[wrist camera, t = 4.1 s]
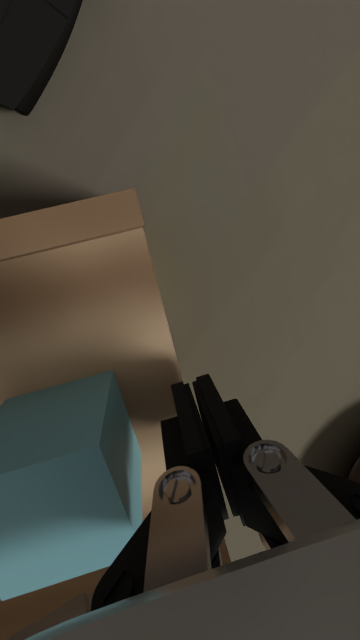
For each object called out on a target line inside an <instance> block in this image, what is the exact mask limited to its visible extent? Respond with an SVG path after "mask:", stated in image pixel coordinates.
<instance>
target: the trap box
mask: <svg viewBox="0 0 360 640" xmlns="http://www.w3.org/2000/svg"><path fill="white" fill-rule="evenodd" d="M143 227H144V221H143V217H142V213H141V209H140V205H139V201H138V197H137V194H136V190H135V188H132V189H127V190H123V191H119V192H114V193H110V194H106V195H101V196H97V197H93V198H88V199H84V200H80V201H75V202H71V203H67V204H62V205H58V206H54V207H49V208H45V209H41V210H36V211H32V212H28V213H23V214H19V215H15V216H10V217H6V218H2V219H0V406H1V405H2V404H3V402H4V401H5V400H6V399H10V398H13V397H17V396H20V395H24V394H28V393H31V392H35V391H38V390H42V389H46V388H49V387H53V386H57V385H60V384H64V383H67V382H71V381H75V380H78V379H82V378H86V377H89V376H93V375H96V374H100V373H104V372H107V371H111V370H113V372H114V375H115V378H116V381H117V384H118V387H119V389H120V392H121V395H122V398H123V401H124V404H125V407H126V410H127V413H128V415H129V418H130V421H131V424H132V427H133V430H134V433H135V436H136V439H137V442H138V444H139V447H140V450H141V468H142V521H144V519H145V518H146V517H147V515H148V514H149V513H150V511H151V510H152V500H153V490H154V486H155V483H156V481H157V480H158V478H159V477H160V476H161V475H162V474H163V473H164V472H165V471H166V465H165V457H164V449H163V441H162V433H161V425H160V421H162V420H166V419H169V418H172V417H176V416H177V412H176V408H175V403H174V399H173V394H172V390H171V385H172V384H175V383H179V382H182V381H183V380H182V377H181V373H180V369H179V365H178V361H177V357H176V353H175V350H174V346H173V342H172V338H171V334H170V330H169V326H168V323H167V319H166V315H165V311H164V307H163V303H162V299H161V296H160V292H159V288H158V284H157V280H156V276H155V272H154V269H153V265H152V261H151V257H150V253H149V249H148V245H147V242H146V238H145V234H144V230H143ZM219 549H220V552H221V558H222V565H225V564H228V563H231V560H230V557H229V553H228V550H227V546H226V543H225V539H223V541H222V543H221V545H220V547H219ZM109 567H110V566H108V567H105V568H102V569H99V570H96V571H93V572H90V573H87V574H84V575H81V576H78V577H75V578H72V579H68V580H65V581H62V582H59V583H56V584H53V585H50V586H47V587H44V588H41V589H38V590H35V591H32V592H29V593H26V594H23V595H20V596H16V597H13V598H10V599H7V600H4V601H1V599H0V640H6V639H8V638H9V637H10V636H12V635H13V634H15V633H17V632H18V631H20V630H21V629H23V628H25V627H26V626H28V625H30V624H31V623H33V622H35V621H36V620H38V619H39V618H41V617H43V616H44V615H46V614H48V613H49V612H51V611H53V610H54V609H56V608H57V607H59V606H61V605H62V604H64V603H66V602H67V601H69V600H70V599H72V598H74V597H75V596H77V595H79V594H80V593H82V592H84V591H85V593H86V595H87V594H89V593H91V592H92V591H94V590H95V588H96V586H97V584H98V583H99V581H100V579H101V578H102V576H103V575H104V573H105V572H106V571H107V569H108V568H109Z"/></svg>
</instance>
